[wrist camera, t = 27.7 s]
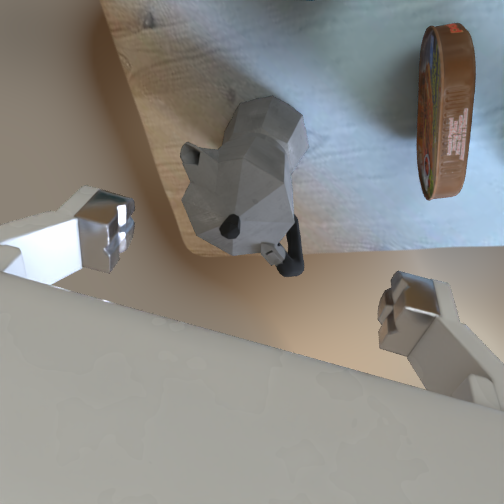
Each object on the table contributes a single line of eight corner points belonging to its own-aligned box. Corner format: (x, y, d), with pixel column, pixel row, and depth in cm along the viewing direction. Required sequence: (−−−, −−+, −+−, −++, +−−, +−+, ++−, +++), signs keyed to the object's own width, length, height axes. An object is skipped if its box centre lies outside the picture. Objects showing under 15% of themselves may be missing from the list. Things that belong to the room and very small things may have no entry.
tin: (420, 18, 36) (435, 39, 30) (460, 11, 36) (484, 31, 29) (414, 174, 45) (425, 217, 39) (446, 172, 44) (462, 215, 38)
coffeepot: (196, 112, 45) (126, 196, 32) (264, 57, 41) (218, 128, 27) (279, 215, 51) (252, 324, 38) (347, 178, 47) (344, 286, 33)
